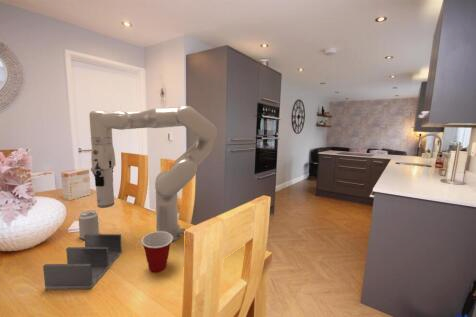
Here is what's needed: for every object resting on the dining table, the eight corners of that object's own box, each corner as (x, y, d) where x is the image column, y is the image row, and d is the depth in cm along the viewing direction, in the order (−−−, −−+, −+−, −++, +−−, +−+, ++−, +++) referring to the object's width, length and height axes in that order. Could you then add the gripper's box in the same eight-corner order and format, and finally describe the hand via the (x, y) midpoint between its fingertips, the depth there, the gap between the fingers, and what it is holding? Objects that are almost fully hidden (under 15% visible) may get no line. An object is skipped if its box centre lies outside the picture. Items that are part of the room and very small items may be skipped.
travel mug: (96, 209, 91) (92, 161, 88) (98, 204, 97) (94, 158, 94) (114, 207, 94) (111, 160, 91) (114, 202, 100) (111, 158, 97)
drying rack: (121, 252, 92) (121, 234, 91) (90, 288, 71) (89, 265, 70) (87, 252, 91) (85, 234, 90) (45, 289, 70) (43, 266, 69)
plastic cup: (155, 282, 75) (154, 248, 73) (135, 270, 80) (134, 239, 79) (179, 265, 84) (179, 235, 82) (160, 256, 90) (160, 228, 88)
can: (89, 241, 100) (87, 216, 98) (75, 239, 101) (73, 214, 100) (102, 233, 107) (101, 210, 105) (89, 232, 108) (88, 208, 107)
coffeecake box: (84, 193, 168) (83, 168, 165) (91, 195, 165) (89, 169, 162) (62, 199, 154) (60, 171, 151) (69, 200, 151) (67, 172, 149)
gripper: (99, 143, 83) (102, 189, 86) (121, 140, 100) (123, 179, 103) (78, 142, 83) (82, 189, 85) (104, 140, 100) (106, 179, 102)
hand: (104, 183), depth 94 cm, fingers closed on travel mug, 6 cm apart
